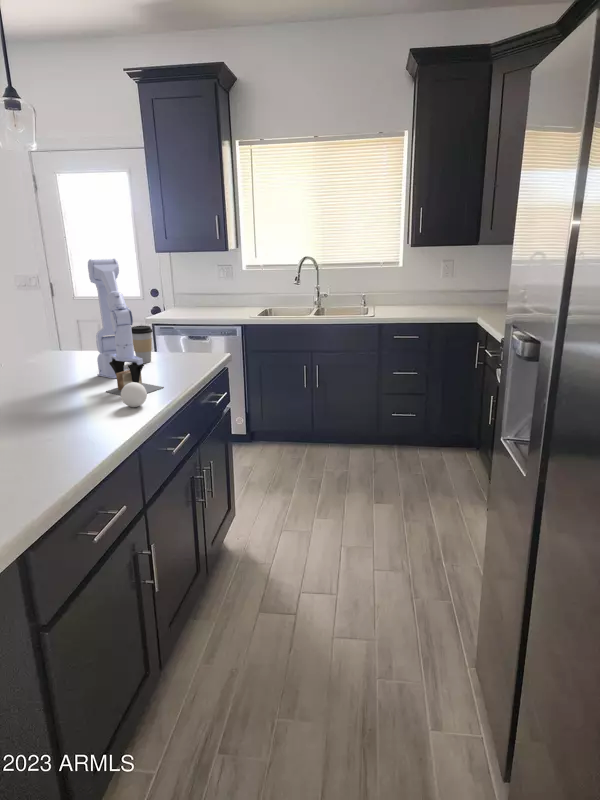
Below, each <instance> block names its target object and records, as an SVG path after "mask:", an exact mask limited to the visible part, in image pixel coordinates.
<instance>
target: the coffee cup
mask: <svg viewBox="0 0 600 800" xmlns="http://www.w3.org/2000/svg"><path fill="white" fill-rule="evenodd" d="M131 329H132V339H133V349H134V355H135V356H137V357H139V358H143V363H144V364H148V363H150V362H151V363H152V349H153V348H152V347H153V344H152V343H153V342H152V339H153V338H152V332H153V329H152V328H151V326H150V325H134V326H131Z"/></svg>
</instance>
